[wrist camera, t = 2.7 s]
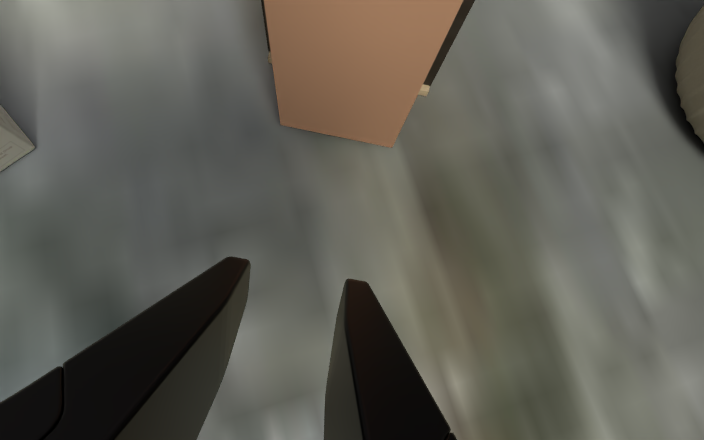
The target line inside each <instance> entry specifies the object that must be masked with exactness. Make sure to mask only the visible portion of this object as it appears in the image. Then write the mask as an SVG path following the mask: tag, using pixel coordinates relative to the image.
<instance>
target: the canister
mask: <svg viewBox="0 0 704 440" xmlns="http://www.w3.org/2000/svg"><path fill="white" fill-rule="evenodd" d="M676 67H677V71H676V74H675V79H676V81H677V84H678V87H677V94H678V95H679V96H680V99H681V105H680V106H681V107H682V108H683V109H684V111H685V114H686V117H687V118H686V120H687V121H688V122H690V123H691V125H692V126H693V128H694V131H695V132H694V133H695V134H696V135H698V136H699V137H700V138H701V140H702V141H703V143H704V5H703V7H702V8H701V10H700V11H699V12H698V14H697V15H696V16H695V17H694V19H693V20H692V22H691V23H690V25H689V27H688V29H687V31H686V33H685V36H684V37H683V39H682V41H681V44H680V47H679V54H678V56H677V59H676Z"/></svg>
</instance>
